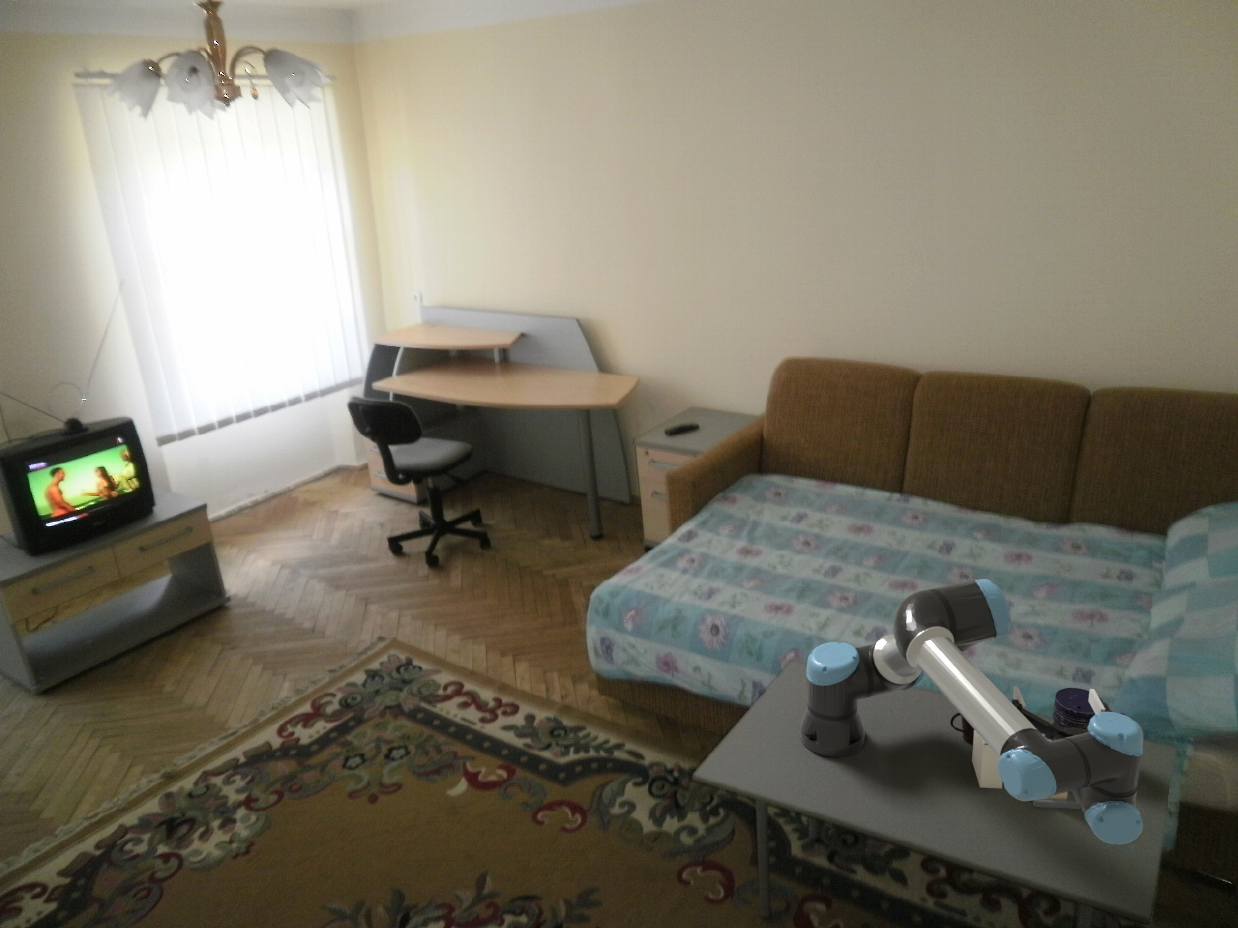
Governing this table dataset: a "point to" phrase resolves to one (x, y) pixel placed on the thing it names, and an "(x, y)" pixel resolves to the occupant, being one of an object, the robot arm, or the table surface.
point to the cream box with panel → (985, 763)
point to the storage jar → (1072, 708)
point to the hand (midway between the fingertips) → (1052, 693)
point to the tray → (1059, 802)
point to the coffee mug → (964, 729)
